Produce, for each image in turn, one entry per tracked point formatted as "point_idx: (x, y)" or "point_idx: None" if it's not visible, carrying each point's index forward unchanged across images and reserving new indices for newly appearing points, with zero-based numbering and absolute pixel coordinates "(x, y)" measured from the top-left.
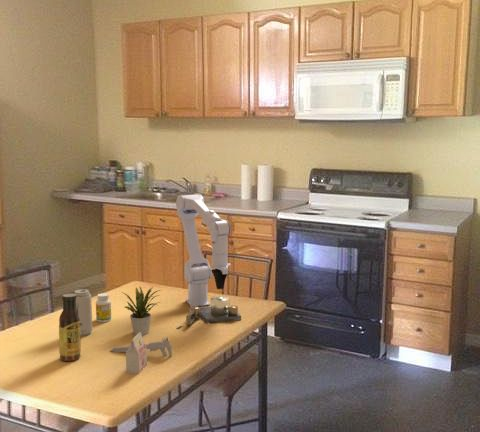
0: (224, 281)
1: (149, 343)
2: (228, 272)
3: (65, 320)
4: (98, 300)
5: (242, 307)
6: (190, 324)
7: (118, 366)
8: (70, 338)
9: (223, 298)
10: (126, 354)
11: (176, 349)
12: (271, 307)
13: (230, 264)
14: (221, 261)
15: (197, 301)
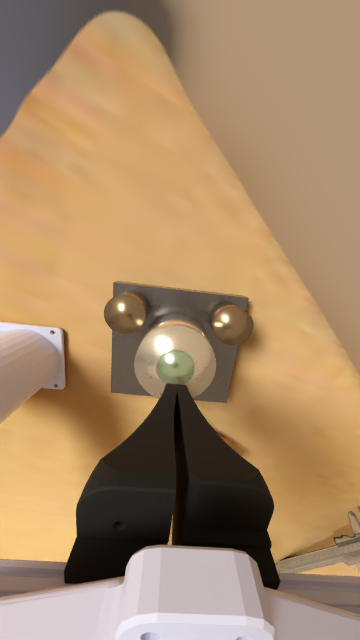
0: (201, 414)
1: (350, 564)
2: (258, 476)
3: None
4: None
5: (122, 230)
6: (232, 443)
7: (341, 568)
8: None
9: (192, 360)
10: None
11: (336, 491)
12: (167, 101)
13: (267, 624)
14: None
15: (50, 376)
